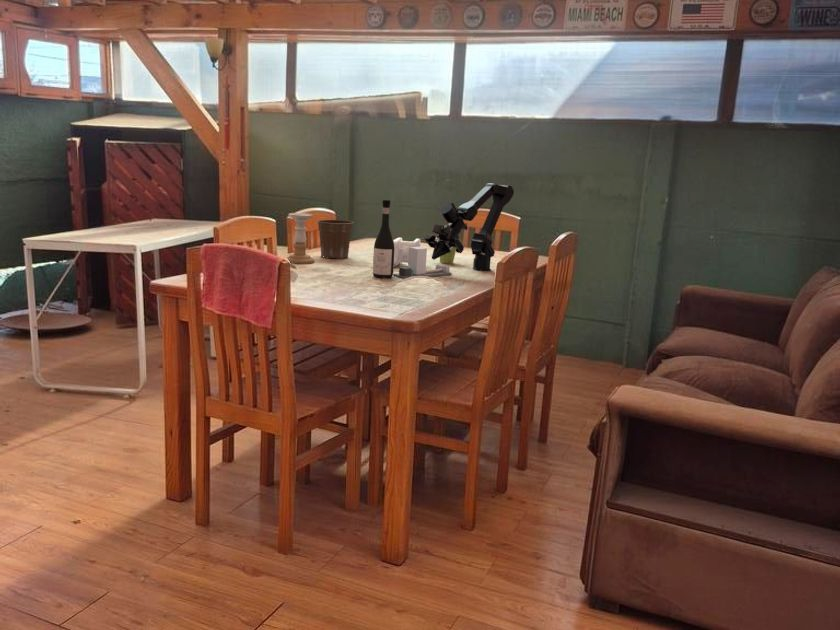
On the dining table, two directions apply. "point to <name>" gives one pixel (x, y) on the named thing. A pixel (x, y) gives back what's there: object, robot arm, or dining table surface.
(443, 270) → the cord comb board
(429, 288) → the dining table surface
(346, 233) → the plant pot
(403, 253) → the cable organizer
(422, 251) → the open-bottomed white box
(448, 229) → the robot arm
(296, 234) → the candle holder
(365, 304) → the dining table surface
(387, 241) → the wine bottle
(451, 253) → the plant pot
